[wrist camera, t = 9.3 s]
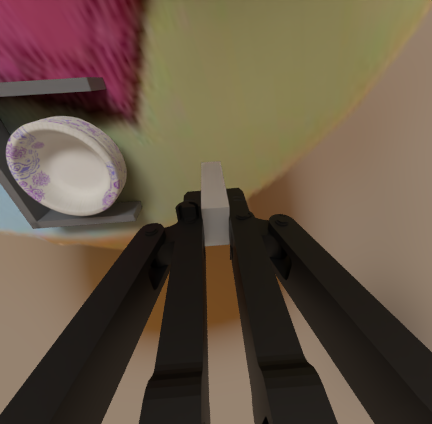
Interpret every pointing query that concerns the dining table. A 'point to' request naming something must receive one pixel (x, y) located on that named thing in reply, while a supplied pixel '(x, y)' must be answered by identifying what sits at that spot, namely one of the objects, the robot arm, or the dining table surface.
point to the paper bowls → (67, 165)
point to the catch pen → (27, 205)
